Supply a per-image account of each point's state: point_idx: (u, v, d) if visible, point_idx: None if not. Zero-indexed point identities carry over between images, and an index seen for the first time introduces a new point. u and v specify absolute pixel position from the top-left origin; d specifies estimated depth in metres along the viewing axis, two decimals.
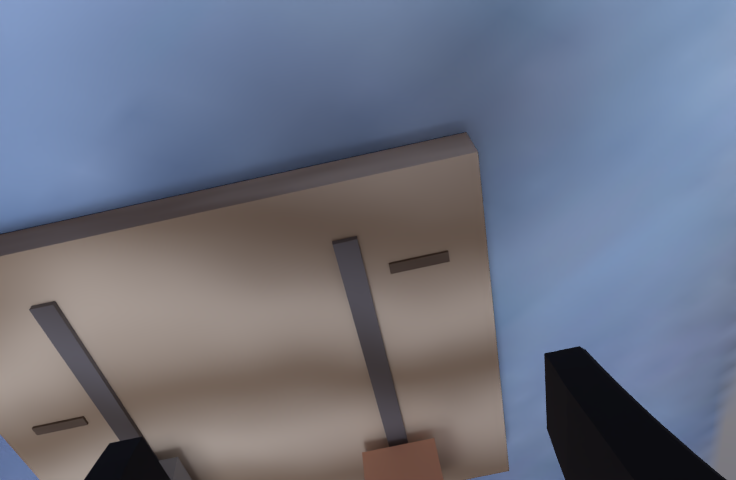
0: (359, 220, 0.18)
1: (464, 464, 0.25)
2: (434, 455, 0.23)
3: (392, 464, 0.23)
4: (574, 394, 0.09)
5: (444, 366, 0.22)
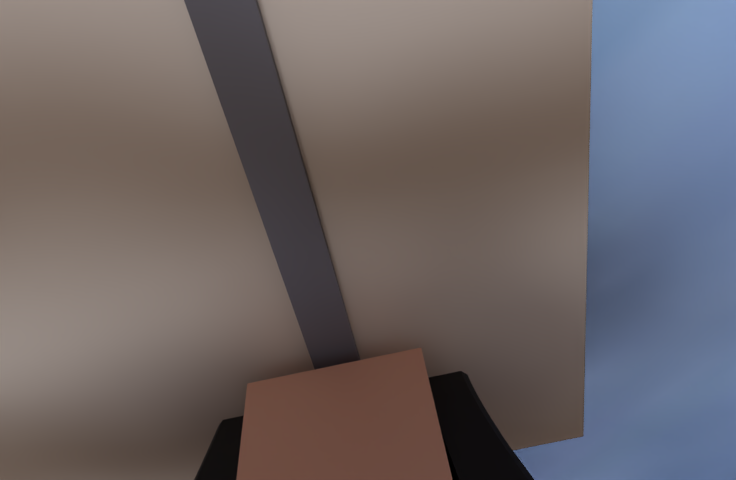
0: None
1: None
2: (420, 385, 0.09)
3: (315, 408, 0.09)
4: (439, 422, 0.09)
5: (446, 138, 0.08)
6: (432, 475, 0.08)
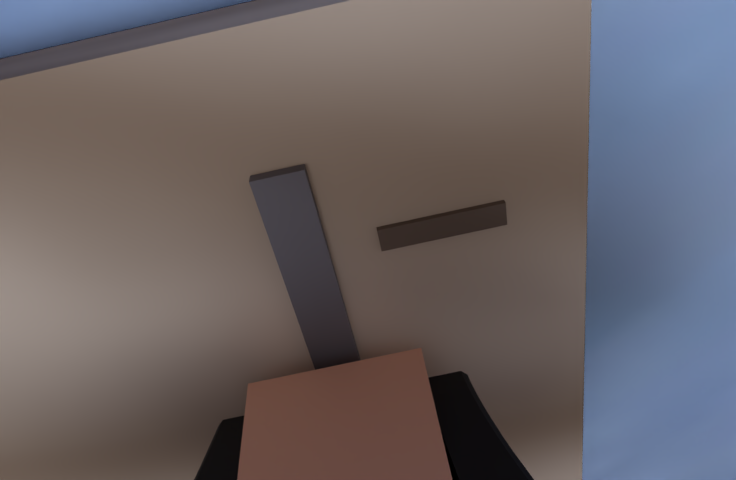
0: (308, 125, 0.08)
1: None
2: (420, 385, 0.09)
3: (316, 408, 0.09)
4: (440, 421, 0.09)
5: None
6: (432, 475, 0.08)
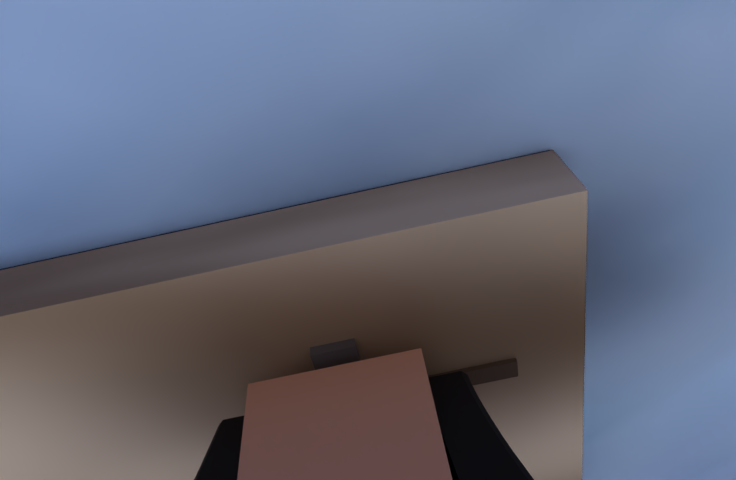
0: (359, 313, 0.10)
1: None
2: (420, 385, 0.09)
3: (316, 408, 0.09)
4: (439, 422, 0.09)
5: None
6: (433, 475, 0.08)
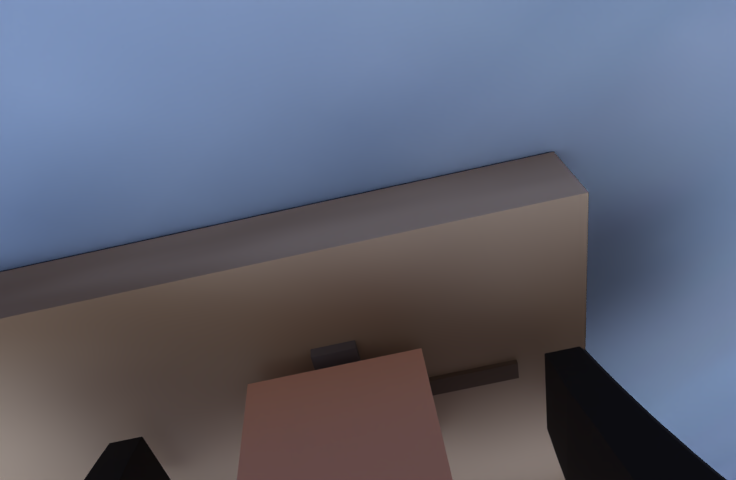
0: (360, 314, 0.10)
1: None
2: (421, 385, 0.09)
3: (316, 409, 0.09)
4: (574, 394, 0.09)
5: None
6: (432, 477, 0.08)
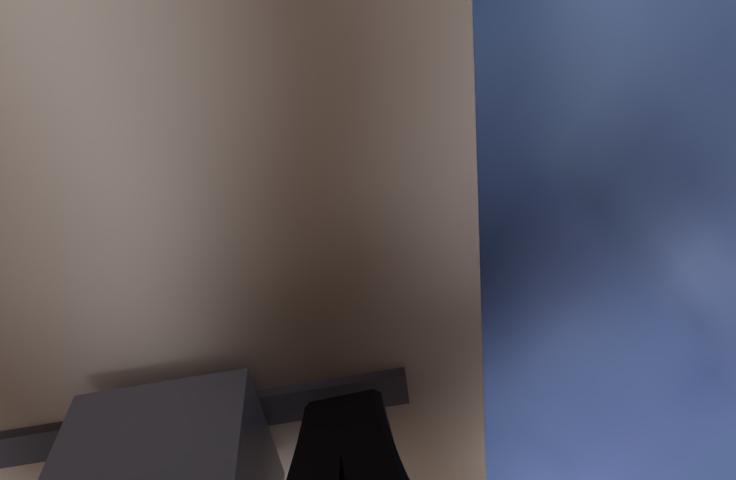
0: None
1: None
2: None
3: None
4: (341, 442, 0.09)
5: None
6: None
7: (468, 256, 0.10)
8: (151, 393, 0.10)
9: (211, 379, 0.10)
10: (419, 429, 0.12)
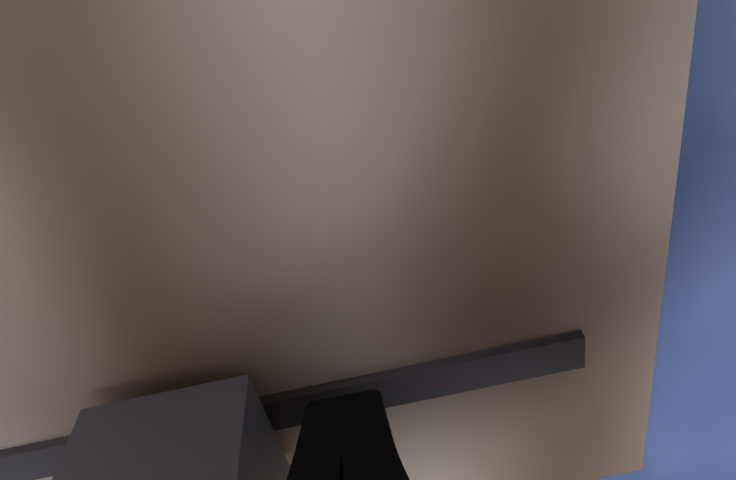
0: None
1: None
2: None
3: None
4: (341, 442, 0.09)
5: None
6: None
7: (662, 210, 0.09)
8: (154, 404, 0.10)
9: (213, 387, 0.10)
10: (586, 395, 0.12)
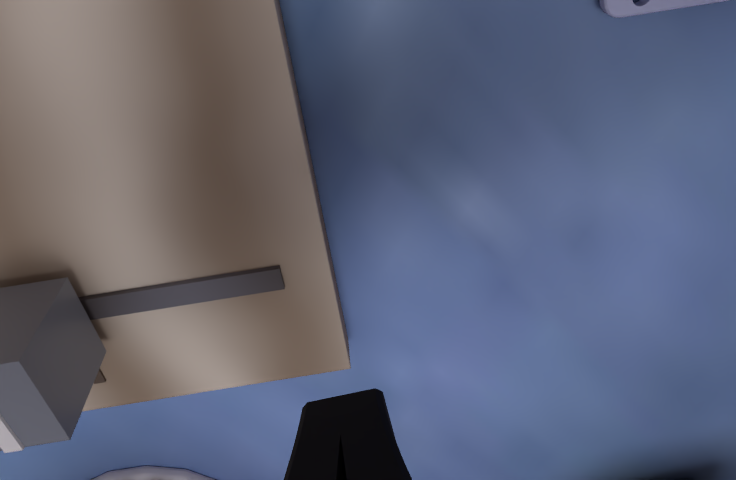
0: None
1: None
2: None
3: None
4: (343, 441, 0.09)
5: None
6: None
7: (307, 193, 0.17)
8: (8, 291, 0.17)
9: (44, 283, 0.17)
10: (295, 310, 0.19)
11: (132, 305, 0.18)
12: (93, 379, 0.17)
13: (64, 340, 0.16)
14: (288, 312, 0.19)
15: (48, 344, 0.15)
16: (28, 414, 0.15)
